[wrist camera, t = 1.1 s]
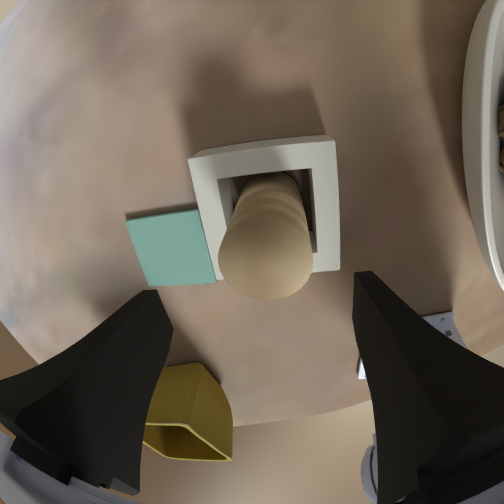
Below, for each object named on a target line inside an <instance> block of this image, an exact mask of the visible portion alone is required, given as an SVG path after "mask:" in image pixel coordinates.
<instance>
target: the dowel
mask: <svg viewBox="0 0 504 504" xmlns="http://www.w3.org/2000/svg"><path fill="white" fill-rule="evenodd" d="M218 264H219V269H220V272H221V274H222V276H223V278H224V279H225V281H226V282H227V283H228V284H229V285H230V286H231V287H232V288H233V289H234V290H236V291H237V292H238V293H240V294H242V295H244V296H247V297H249V298H252V299H257V300H277V299H282V298H285V297H287V296H290V295H292V294H293V293H295V292H297V291H298V290H299V289H300V288H301V287H302V286H303V285H304V284H305V283H306V282H307V280H308V278H309V276H310V274H311V272H312V268H313V253H312V248H311V242H310V237H309V232H308V226H307V221H306V216H305V211H304V206H303V201H302V196H301V192H300V189H299V187H298V185H297V184H296V182H295V181H294V180H293V179H292V178H291V177H290V176H288V175H287V174H285V173H282V172H279V171H276V172H267V173H258V174H255V175H254V176H252V177H251V178H250V179H249V180H248V181H247V183H246V184H245V186H244V188H243V190H242V193H241V195H240V198H239V200H238V202H237V205H236V207H235V210H234V212H233V215H232V217H231V220H230V222H229V225H228V227H227V230H226V232H225V235H224V237H223V240H222V243H221V245H220V248H219V252H218Z"/></svg>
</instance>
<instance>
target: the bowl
mask: <svg viewBox="0 0 504 504" xmlns="http://www.w3.org/2000/svg"><path fill="white" fill-rule="evenodd" d="M462 147H463V162H464V173H465V181H466V189H467V196H468V202H469V208H470V213H471V218H472V223H473V226H474V230H475V234H476V238H477V241H478V244H479V247H480V250H481V252H482V255H483V258H484V260H485V262H486V264H487V266H488V268H489V270H490V272H491V274H492V276H493V277H494V279H495V280H496V282H497V283H498V285H499V286H500V287H501V289H502V290H503V291H504V0H486V1H485V3H484V4H483V6H482V7H481V9H480V11H479V13H478V15H477V18H476V20H475V23H474V25H473V29H472V32H471V36H470V40H469V44H468V49H467V54H466V61H465V68H464V78H463V91H462Z"/></svg>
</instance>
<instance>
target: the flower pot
mask: <svg viewBox="0 0 504 504" xmlns="http://www.w3.org/2000/svg"><path fill="white" fill-rule="evenodd" d="M143 443H144V444H145V445H147V446H149V447H150V448H151V449H153V450H154V451H156V452H158V453H159V454H161V455H163V456H164V457H166V458H171V459H182V460H201V461H231V460H232V447H233V445H232V444H233V419H232V412H231V408H230V405H229V402H228V400H227V397H226V395H225V393H224V391H223V389H222V387H221V386H220V385H219V383H218V382H217V381H216V380H215V379H214V378H213V377H212V375H211V374H210V373H209V372H208V370H207V369H206V368H205V367H204V365H203V364H201V363H199V362H196V363H189V364H183V365H176V366H168V367H164V368H163V369H162V371H161V374H160V377H159V379H158V382H157V385H156V388H155V390H154V393H153V396H152V399H151V402H150V406H149V410H148V414H147V419H146V424H145V430H144V436H143Z"/></svg>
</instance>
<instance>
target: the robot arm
mask: <svg viewBox="0 0 504 504" xmlns="http://www.w3.org/2000/svg"><path fill="white" fill-rule="evenodd" d="M454 317H455V315H454V313H453V312H446V313H441V314H436V315H431V316H425V317H421V316H420V315H419V314H417V313H416V312H415V311H414V310H413V309H411V308H410V307H409V306H408V305H407V304H406V303H405V302H404V301H403V300H402V299H400V298H399V297H398V296H397V295H396V294H395V293H394V292H393V291H392V290H391V289H390V288H389V287H388V286H387V285H386V284H385V283H384V282H383V281H382V280H381V279H380V278H379V277H378V276H376V275H375V274H374V273H373V272H372V271H364V272H355V273H354V295H353V313H352V319H353V325H354V331H355V337H356V342H357V346H358V349H359V353H360V356H361V358H360V364H359V369H358V374H357V375H358V378H359V379H366V378H367V382H368V386H369V390H370V394H371V399H372V403H373V412H374V420H375V430H376V433H375V434H373V442H374V445H371V446H370V447H369V448H368V449H367V451H366V452H365V455H364V457H363V460H362V464H361V479H362V485H363V488H364V491H365V493H366V495H367V497H368V499H369V500H370V501H371V502H372V504H504V368H503V367H501V366H499V365H497V364H494V363H492V362H490V361H488V360H486V359H484V358H482V357H480V356H479V355H477V354H475V353H473V352H471V351H470V350H468V349H467V347H466V345H465V343H464V341H463V339H462V337H461V335H460V334H459V332H458V330H457V328H456V326H455V324H454V323H453V320H454ZM172 334H173V326H172V324H171V322H170V320H169V317H168V315H167V313H166V311H165V308H164V306H163V304H162V301H161V299H160V297H159V294H158V292H157V290H143V291H142V292H140V293H139V294H137V295H136V296H134V297H133V298H132V299H131V300H129V301H128V302H127V303H126V304H124V305H123V306H122V307H121V308H119V309H118V310H117V311H116V312H115V313H113V314H112V315H111V316H110V317H109V318H107V319H106V320H105V321H104V322H102V323H101V324H100V325H99V326H97V327H96V328H95V329H94V330H92V331H91V332H90V333H88V334H87V335H86V336H85V337H83V338H82V339H81V340H79V341H78V342H76V343H75V344H73V345H72V346H70V347H69V348H67V349H66V350H64V351H63V352H61V353H60V354H58V355H56V356H54V357H52V358H51V359H49V360H47V361H45V362H44V363H42V364H40V365H38V366H36V367H34V368H32V369H29V370H27V371H25V372H22V373H20V374H17V375H14V376H11V377H8V378H5V379H2V380H0V423H1V424H3V425H4V426H5V427H6V428H7V429H8V430H9V431H11V432H12V433H13V434H14V435H15V436H16V438H15V440H14V441H13V440H12V439H11V438H9V437H8V436H7V435H5V434H4V433H2V432H1V431H0V496H1V498H2V499H3V500H4V502H5V503H6V504H143V503H139V502H136V501H133V500H130V499H127V498H124V497H121V496H118V495H115V494H113V493H110V492H108V491H105V490H102V489H100V488H99V486H101V487H104V488H106V489H109V488H111V489H114V490H117V491H120V492H123V493H126V494H129V495H132V496H133V495H136V494H138V493H139V492H140V461H141V451H142V442H143V436H144V430H145V424H146V419H147V414H148V410H149V406H150V402H151V399H152V396H153V393H154V390H155V388H156V385H157V382H158V379H159V377H160V374H161V371H162V369H163V366H164V363H165V360H166V358H167V355H168V352H169V348H170V344H171V339H172Z"/></svg>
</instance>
